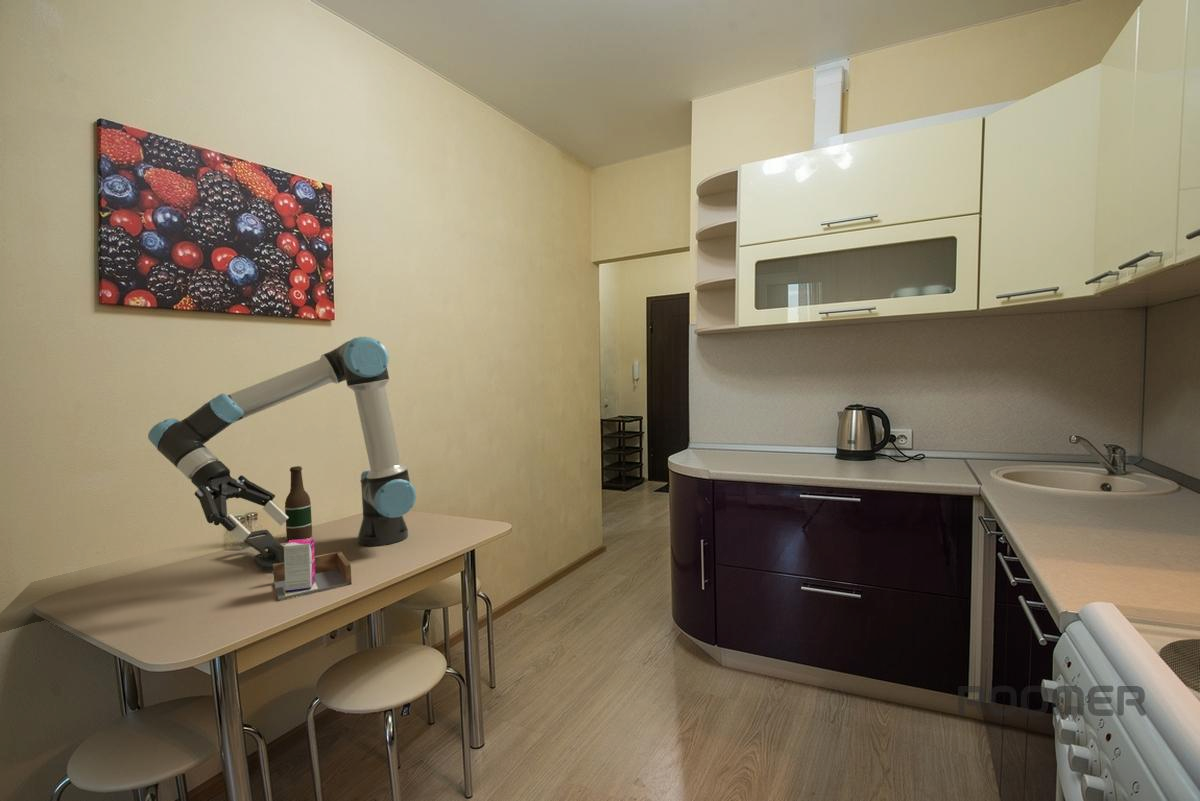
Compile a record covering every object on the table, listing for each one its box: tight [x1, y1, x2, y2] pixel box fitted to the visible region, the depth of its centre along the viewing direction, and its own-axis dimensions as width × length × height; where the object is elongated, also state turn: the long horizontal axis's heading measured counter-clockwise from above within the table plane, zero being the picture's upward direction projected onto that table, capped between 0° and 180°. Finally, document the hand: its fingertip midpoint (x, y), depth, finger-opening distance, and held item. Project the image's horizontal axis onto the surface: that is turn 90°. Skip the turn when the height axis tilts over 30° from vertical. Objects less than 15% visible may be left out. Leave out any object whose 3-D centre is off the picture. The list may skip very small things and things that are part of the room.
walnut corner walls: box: [272, 550, 352, 586], centre depth 136 cm, size 16×14×5 cm
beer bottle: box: [284, 465, 313, 541], centre depth 177 cm, size 8×8×24 cm
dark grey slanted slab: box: [243, 529, 284, 573], centre depth 156 cm, size 9×7×25 cm
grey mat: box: [273, 569, 352, 601], centre depth 136 cm, size 16×14×1 cm
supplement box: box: [283, 537, 316, 593], centre depth 132 cm, size 6×6×12 cm
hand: (266, 529), depth 132 cm, fingers open, 13 cm apart
